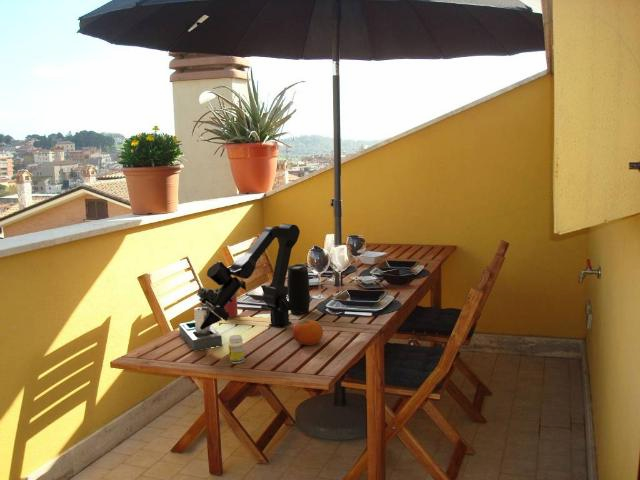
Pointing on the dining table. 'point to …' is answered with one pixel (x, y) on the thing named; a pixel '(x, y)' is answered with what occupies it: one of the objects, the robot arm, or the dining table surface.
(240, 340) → the supplement bottle
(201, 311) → the steel sleeve
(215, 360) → the dining table surface
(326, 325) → the dining table surface
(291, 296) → the portable speaker
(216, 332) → the jig plate
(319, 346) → the dining table surface
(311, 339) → the fruit
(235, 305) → the beer can
